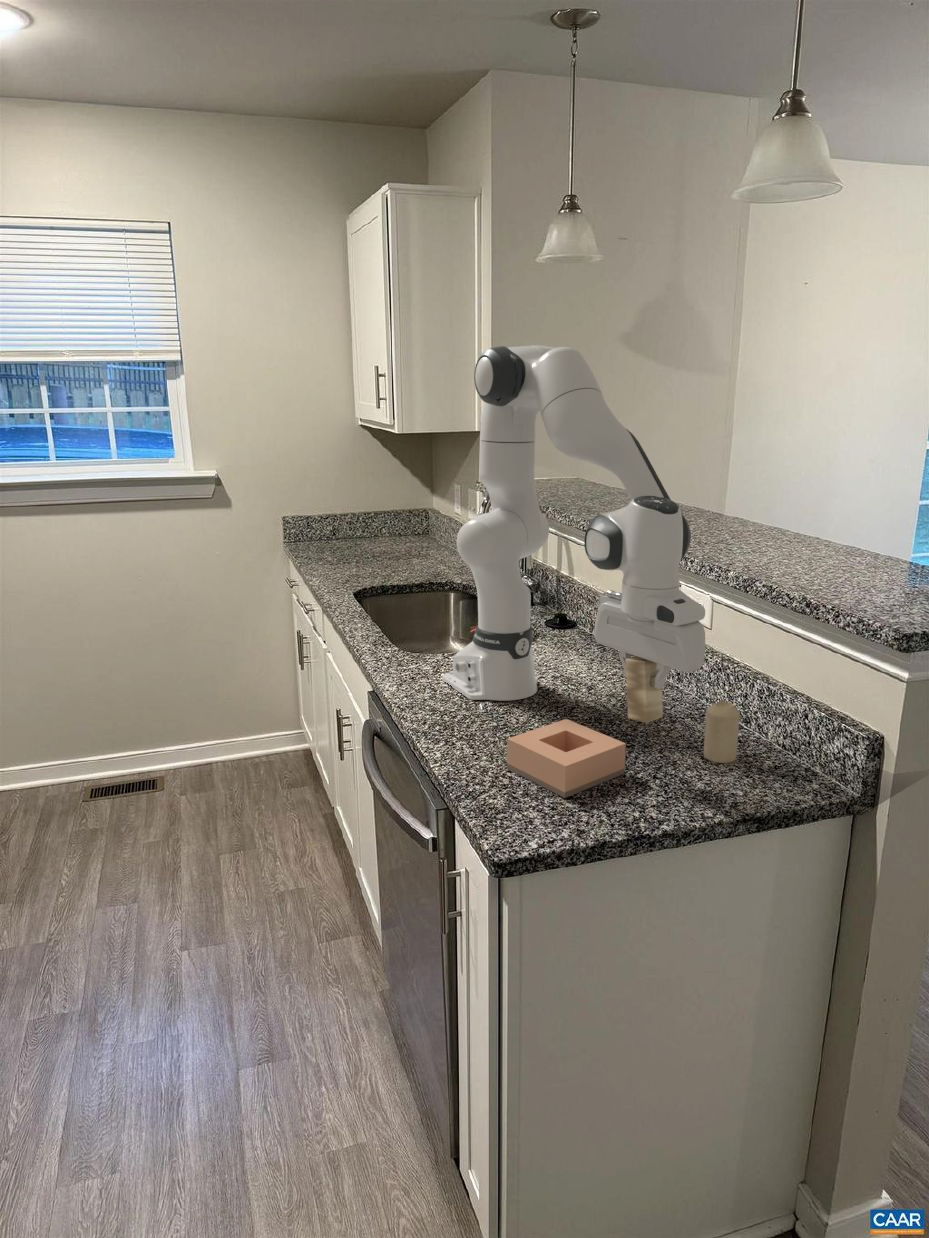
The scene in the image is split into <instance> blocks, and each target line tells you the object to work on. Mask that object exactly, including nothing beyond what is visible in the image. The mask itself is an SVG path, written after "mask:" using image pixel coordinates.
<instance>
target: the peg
mask: <svg viewBox="0 0 929 1238" xmlns="http://www.w3.org/2000/svg"><path fill="white" fill-rule="evenodd" d="M625 663H626V677H625V683H626V699H627V700H626V703H627V706H626V707H627V718H628V719H631V720H635V721H638V722H642V723H645V724H646V723H650V722H653V721H655V720H658V719H660V718H661V719H662V718H664V710H663V707H664V706H663V703H664V702H663V688H662V689H656V688H653V687H651V686H650V683H651V677H653V676H656V675H657V674H658V672H659V670H658V669H657V663H655V662H652V661H649V660H646V659H643V658H640V657H637V656H634V655H633V656H631V658H627V659H625Z"/></svg>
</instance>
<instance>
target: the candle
mask: <svg viewBox="0 0 929 1238" xmlns="http://www.w3.org/2000/svg"><path fill="white" fill-rule="evenodd" d="M705 713H706V714H705V729H704V739H703V740H704V742H703V743H704V744H703V756H704V758H705V759H706V760H708V761H710V762H713V763H716V764H730V763H733V762H735V761H736V760H737V752H738V741H739V740H738V739H739V729H740V727H739V725H740V715H741V713H740V711H739V710H738V708H737V707H736V706H735V705H734V703H731V702H726V701H724V700H720V701H718V702H714V703H713V704H711V705H710V706H709V707H708V708H706V712H705Z"/></svg>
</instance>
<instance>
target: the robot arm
mask: <svg viewBox="0 0 929 1238" xmlns="http://www.w3.org/2000/svg"><path fill="white" fill-rule="evenodd" d="M474 368H475V369H474V377H473V379H474V387H475V390H476V392H477V394H478V396H479V398H480V399H481V400H482V401H483V407H482V412H481V422H480V429H479V430H480V431H479V433H480V434H479V459H478V460H479V462H478V463H479V466H478V467H479V469H478V471H479V474H478V477H479V481H480V482H481V484H482V485H483V486H484V487H485V488H486V489H485V490H487V492H488V493H487V494H488V497H489V499H490V505H491V506H490V507H491V510H490V512H484V513H481V514H478V515H476V516H474V517H473V518H471V519H470V520H468V521H467V522H465V523H464V524H463V525H462V526H461V527H460V529H459V531H458V532H457V535H456V536H457V537H456V549H457V553H458V555H459V557H460V558H461V559H462V561H463V562H464V563H465V564H467V566H469V569H470V571H471V573H472V576H473V579H474V582H475V586H476V593H477V613H478V614H477V620H478V621H477V624H478V625H476V626H471V627H470V629H471V630H470V633H474V635H473V638H472V641H471V642H470V643H468V644H467V645H465V646H464V647H463V648H462V649H460V650H459V651H458V652H457V653H456V654H455V655H454V657H453V661H452V670H449V671H448V672H446V673H444V674H443V675H441V676H442V678H441V680H442V682H444V683H445V682H446V683H445V684H447V683H448V684H449V685H448V684H447V685H448V686H450V685H451V686H452V687H451V686H450V687H451V688H453V689H454V690H456V691H458V692H459V693H460V694H461V693H462V695H463V696H464V697H466V698H467V699H468V700H471V701H473V700H474V701H477V700H479V701H483V700H484V701H485V700H487V701H488V700H489V701H501V702H503V701H505V702H506V701H517V700H521V699H522V700H523V699H527V698H530V697H532V696H534V695H535V694H536V693H537V692H538V685H537V684H538V682H539V678H538V676H537V675H536V667H535V659H534V656H535V655H534V649H533V647H532V644H533V636H534V633H533V626H532V625H531V612H532V611H531V604H532V603H531V602H532V601H531V600H532V598H531V597H532V595H531V591H530V588H529V587H528V585H527V584H525V583H524V581H523V578H522V575H521V572H520V560H522V559H524V558H527V557H530V556H532V555H534V554H535V553H536V552H538V551H539V550H540V549H541V548H542V547H543V546H544V545H545V544H546V543H547V541H548V539H549V535H550V525H549V522H548V519H547V518H546V516H545V515H544V514H543V512H542V511H541V508H540V505H539V501H538V500H539V499H538V496H537V490H536V484H535V482H536V481H535V457H536V456H535V455H536V419H537V416H538V415H537V414H539V412H540V415H541V419H542V422H543V425H544V428H545V431H546V433H547V435H548V438H549V439H550V441H551V442H552V444H553V445H554V447H555V448H556V449H557V450H558V451H560V452H561V453H562V454H564V455H566V456H568V457H570V458H573V459H575V460H579V461H584V462H587V463H590V464H593V465H596V466H599V467H600V468H603V469H604V470H605V469H606V470H607V471H610V472H611V473H612V474H614V475H615V476H616V477H617V478H618V479H619V480H620V482H621V483H622V485H623V487H624V488H625V491H626V493H627V495H628V496H629V498H630V501H629V503H628V505H626V506H624V507H622V508H619V509H617V510H616V509H615V510H613V511H609V512H605V513H604V512H603V513H601V514H597V515H595V516H593V518H592V519H591V521H590V522H589V524H588V525H587V527H586V530H585V535H584V541H583V542H584V543H583V544H584V550H585V551H584V552H585V555H586V556H587V559H588V560H589V561H590V563H592V564H593V565H594V566H595V567H596V568H597V569H599V570H606V571H609V572H610V571H612V572H613V571H621V572H622V574H623V576H622V577H623V578H622V584H621V592H617V591H615V590H612V589H611V590H607V591H604V592H603V593H602V594H601V595H600V597H599V605H598V610H597V613H596V619H595V622H594V624H595V625H594V632H593V637H594V639H595V641H596V643H597V644H599V645H603V646H605V647H608V648H611V649H614V650H617V651H618V652H619V653H618V657H619V660H620V662H621V665H622V668H623V677H624V678H626V663H625V659H627V658H631V657H634V656H637V657H640V658H643V659H646V660H649V661H652V662H655V663H657V669H658V670H659V672H658V674H657V675H656V676H653V677H651V683H650V686H651V687H653V688H656V689H662V690H663V688H664V687H665V682H666V678H667V677H668V675H669V674H670V672H671V671H672V670H673V669H674V670H677V671H679V672H682V673H691V672H694V671H697V670H699V669H700V668H701V667H703V665H704V663H705V655H706V629H705V628H704V624H703V623H701V622H700V621H702V620H704V619H705V616H706V608H705V607H704V606H703V605H702V604H700V603H699V602H697V601H695V600H694V599H692V598H691V597H690V596H689V595H687V594H686V593H684V592H683V591H682V590H680V576H679V567H680V564H681V561H682V560H683V559H684V558H685V556H686V554H687V553H688V551H689V549H690V548H689V547H690V545H691V541H692V533H691V528H690V525H689V523H688V520H687V519H686V517H685V515H684V514H683V513H682V510H681V507H680V506H679V504H678V503H676V502H675V501H673V500H672V499H671V498H670V496H669V494H668V492H667V491H666V489H665V486H664V485H663V483H662V481H661V479H660V478H659V475H658V474H657V472H656V471H655V468H654V466H653V465H652V463H651V461H650V459H649V457H648V456H647V454H646V452H645V451H644V448H643V447H642V445H641V443H640V442H639V440H638V439H637V438H636V436H635V435H634V434H633V432H631V431H630V430H629V429H628V428H626V427H625V426H624V425H623V424H622V423H621V422H620V421H619V419H617V417H616V416H615V414H614V413H613V412H612V410H611V409H610V407H609V405H608V404H607V402H606V400H605V398H604V395H603V393H602V390H601V387H600V385H599V383H598V381H597V379H596V376H595V375H594V373H593V370H592V369H591V367H590V366H589V364H588V362H587V360H586V359H585V357H584V355H582V354H581V352H579V350H576V349H575V348H572V347H568V346H559V347H555V346H547V345H537V344H532V345H521V346H509V347H507V346H503V345H502V346H496V347H491V348H488V349H486V350H484V351H483V352H482V353H481V355H480V356H479V358H478V359H477V361H476V364H475V367H474Z"/></svg>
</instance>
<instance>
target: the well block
mask: <svg viewBox="0 0 929 1238" xmlns="http://www.w3.org/2000/svg"><path fill="white" fill-rule="evenodd" d="M626 744H627V743H625V742H623V741H621V740H619V739H617V738H613V737H611V736H609V735H607V734H604V733H602V732H599V731H596V730H594V729H592V728H590V727H587V726H585V725H583V724H582V725H581V724H580V723H577V722H575V721H572V720H569V719H567V718H565V719H562V720H559V721H556V722H553V723H550V724H547V725H544V726H541V727H538V728H535V729H532V730H529V731H526V732H523V733H520V734H516V735H514V736H511V737H507V739H506V769H508V770H509V771H511V772H512V773H515V774H517V775H519V776H521V777H523V778H525V779H527V780H529V781H531V782H533V783H534V784H537V785H539V786H540V787H541V788H544V789H546V790H548V791H550V792H552V793H554V794H556V795H558V796H559V797H561V798H563V799H565V798H568V797H572V796H573V795H577V794H578V793H581V792H583V791H586V790H587V789H591V788H592V787H596V786H597V785H600V784H602V783H603V784H604V783H605V782H608V781H610V780H613V779H614V778H617V777H620V776H622V775H625V769H626V768H625V767H626V748H627V746H626Z"/></svg>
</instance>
